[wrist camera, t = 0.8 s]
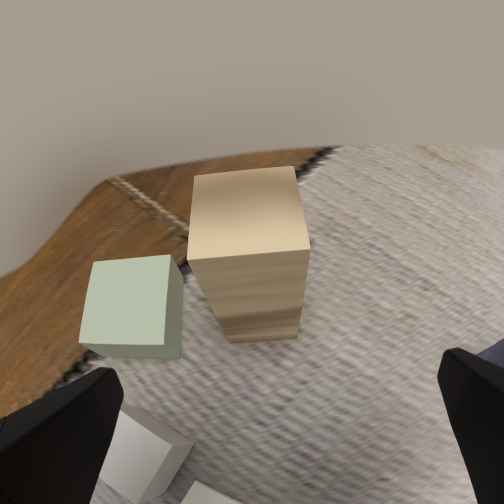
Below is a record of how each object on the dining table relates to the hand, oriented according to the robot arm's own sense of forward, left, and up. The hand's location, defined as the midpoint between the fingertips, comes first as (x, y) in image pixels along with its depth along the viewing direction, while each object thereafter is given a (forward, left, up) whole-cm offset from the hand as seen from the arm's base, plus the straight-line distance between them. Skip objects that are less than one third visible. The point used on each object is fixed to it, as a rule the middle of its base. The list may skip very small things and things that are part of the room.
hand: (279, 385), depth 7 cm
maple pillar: (+7, +5, -15) cm, 17 cm away
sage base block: (+2, +13, -15) cm, 20 cm away
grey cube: (-7, +7, -15) cm, 18 cm away
